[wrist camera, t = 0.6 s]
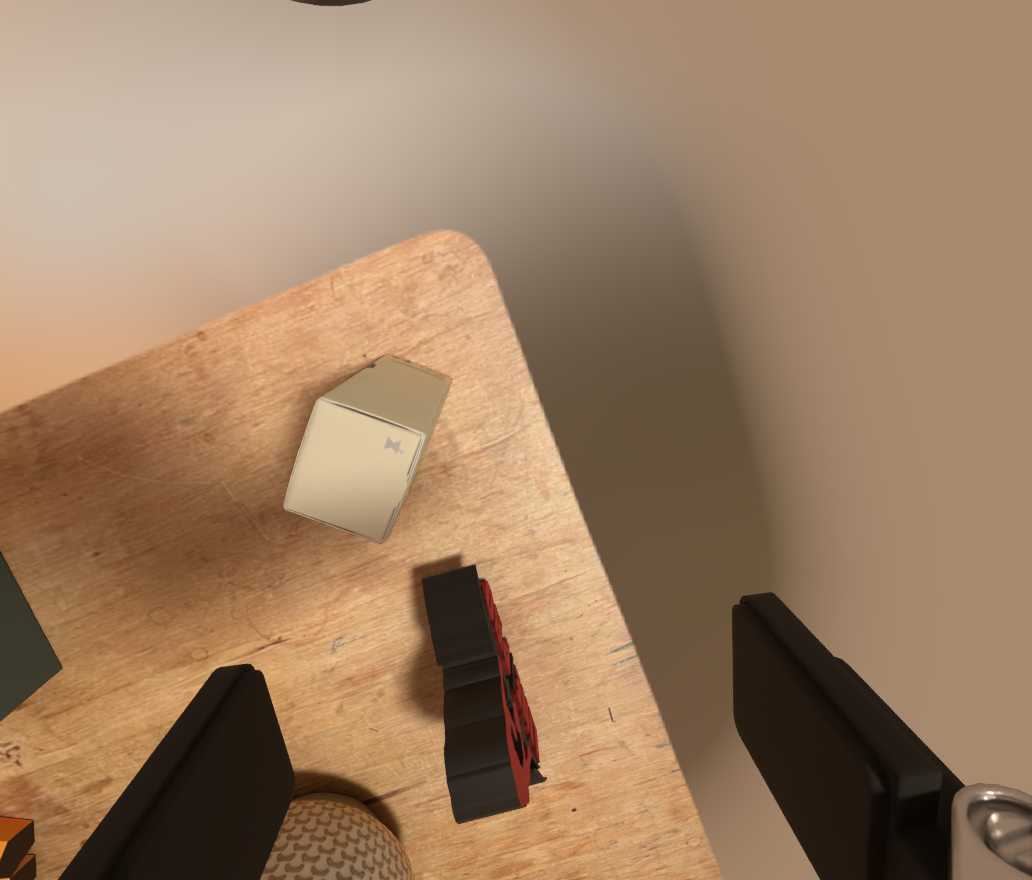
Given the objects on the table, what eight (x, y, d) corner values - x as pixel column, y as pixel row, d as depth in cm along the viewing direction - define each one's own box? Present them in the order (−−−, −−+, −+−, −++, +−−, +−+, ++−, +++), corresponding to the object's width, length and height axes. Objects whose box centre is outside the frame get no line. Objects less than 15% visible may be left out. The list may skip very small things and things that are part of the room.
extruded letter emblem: (543, 751, 39) (562, 921, 29) (500, 762, 40) (502, 936, 29) (476, 546, 35) (468, 658, 24) (427, 559, 35) (397, 677, 24)
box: (387, 350, 31) (315, 385, 19) (455, 378, 32) (431, 429, 19) (359, 429, 32) (275, 511, 20) (426, 454, 33) (385, 549, 20)
